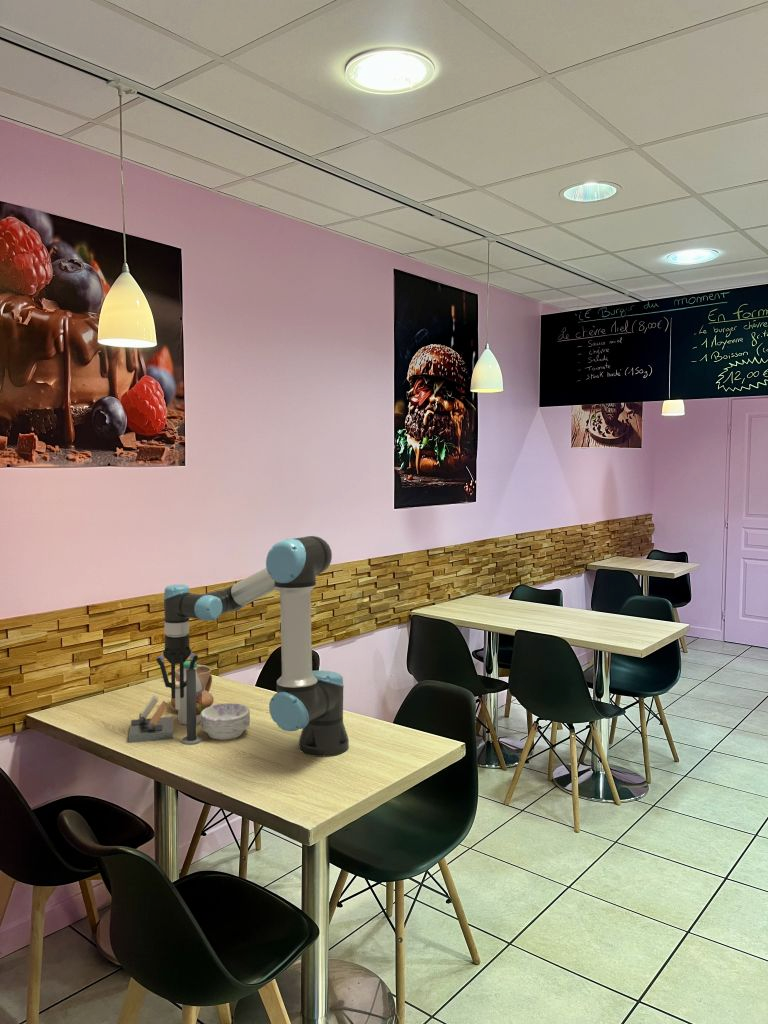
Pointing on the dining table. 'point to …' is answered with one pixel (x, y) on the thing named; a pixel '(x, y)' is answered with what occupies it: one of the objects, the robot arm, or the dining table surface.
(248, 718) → the paper bowls
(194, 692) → the post
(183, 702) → the milk bottle
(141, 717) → the paddle
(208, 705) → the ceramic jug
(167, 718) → the panel
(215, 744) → the dining table surface
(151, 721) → the orange rounded bar
